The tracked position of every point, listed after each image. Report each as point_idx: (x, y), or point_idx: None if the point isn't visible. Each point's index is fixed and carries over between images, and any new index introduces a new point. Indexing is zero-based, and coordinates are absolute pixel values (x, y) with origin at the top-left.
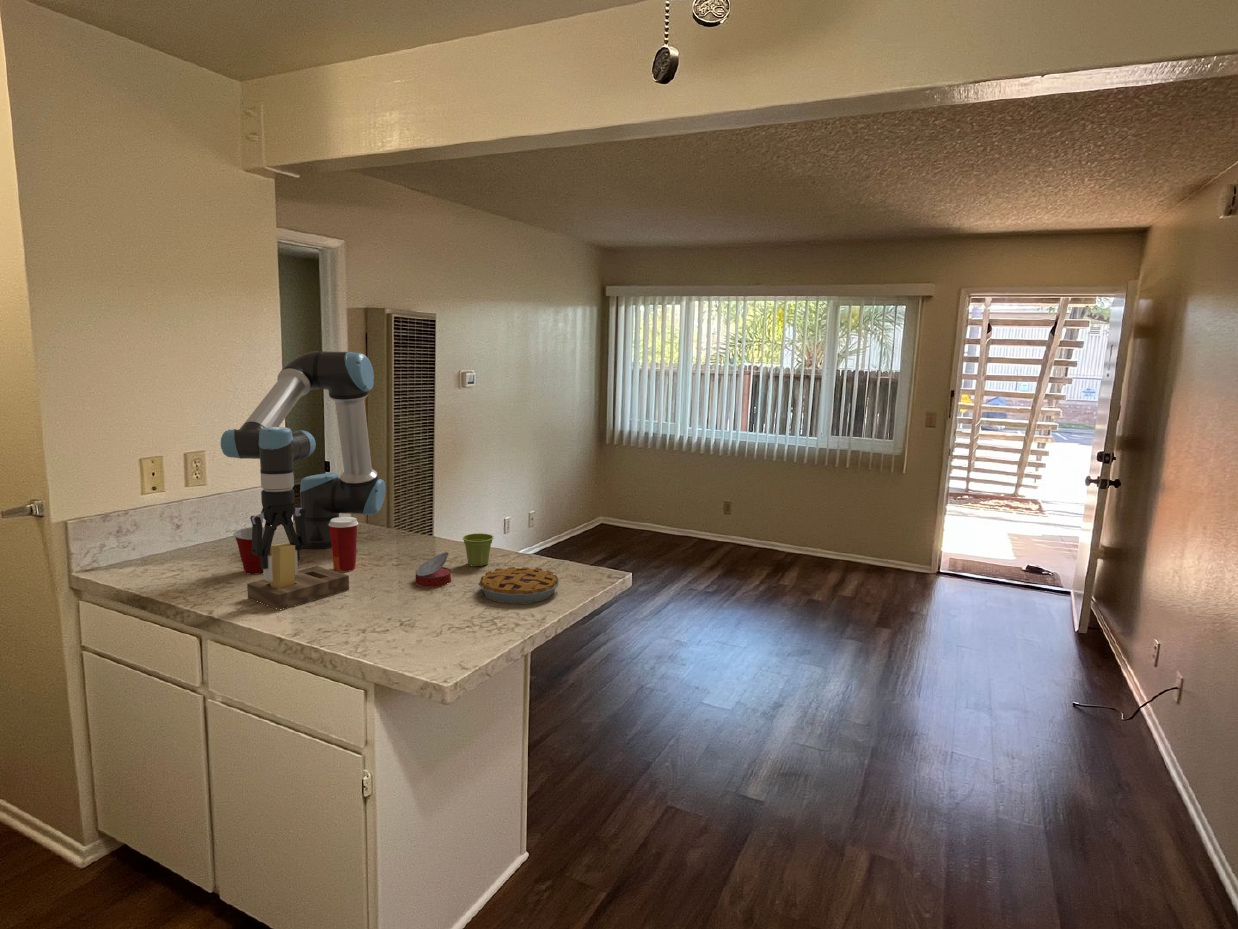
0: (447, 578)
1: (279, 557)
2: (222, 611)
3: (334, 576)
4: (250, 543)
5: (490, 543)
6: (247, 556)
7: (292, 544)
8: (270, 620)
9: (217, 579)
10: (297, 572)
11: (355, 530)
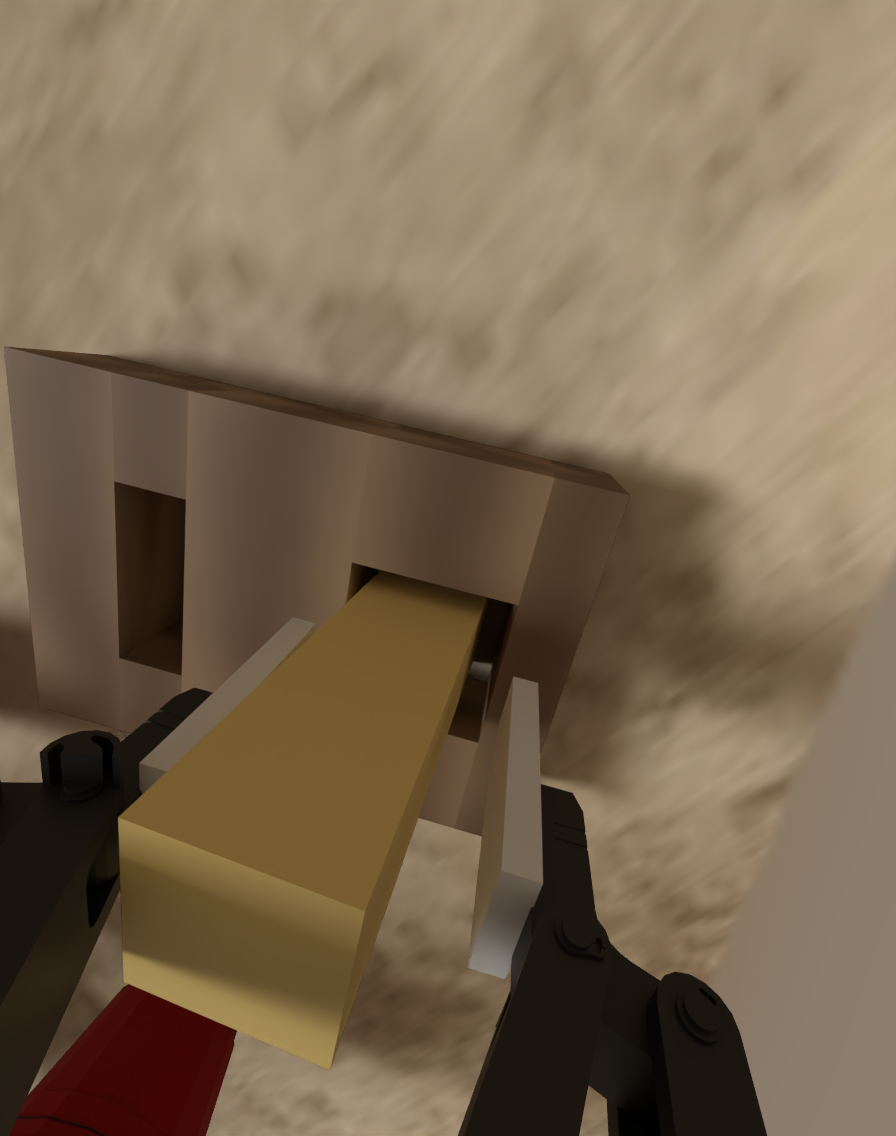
0: None
1: (410, 799)
2: (735, 754)
3: (89, 435)
4: None
5: None
6: (209, 1070)
7: (87, 898)
8: (804, 378)
9: (369, 1020)
10: (287, 626)
11: None
